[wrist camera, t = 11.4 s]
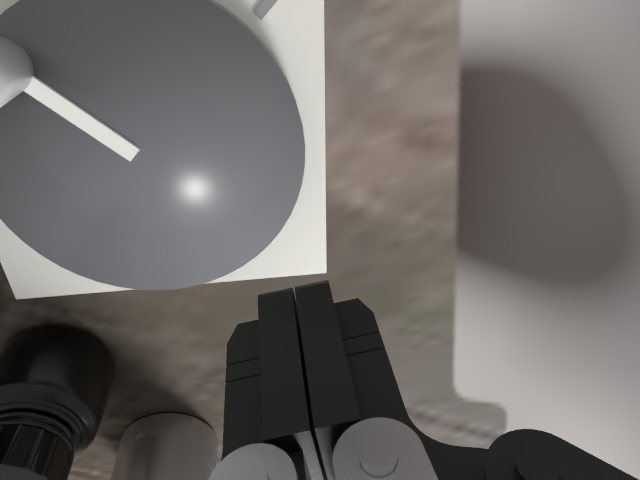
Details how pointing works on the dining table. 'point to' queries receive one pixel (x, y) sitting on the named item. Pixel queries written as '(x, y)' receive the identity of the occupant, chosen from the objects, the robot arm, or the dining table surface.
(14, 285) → the dial base
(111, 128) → the dial
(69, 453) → the ink bottle
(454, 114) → the dining table surface
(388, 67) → the dining table surface
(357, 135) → the dining table surface
